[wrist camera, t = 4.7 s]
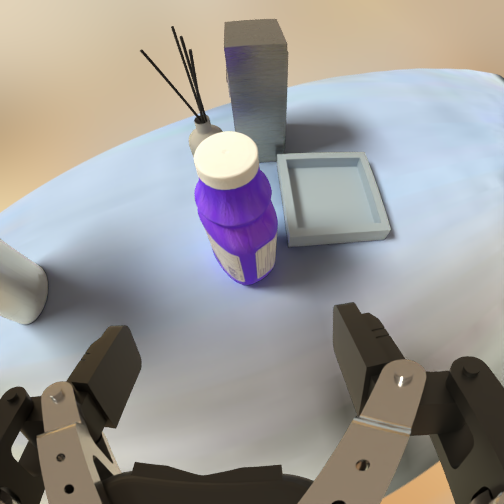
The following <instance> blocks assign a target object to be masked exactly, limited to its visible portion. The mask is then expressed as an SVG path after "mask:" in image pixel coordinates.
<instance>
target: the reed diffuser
mask: <svg viewBox="0 0 504 504" xmlns="http://www.w3.org/2000/svg"><path fill="white" fill-rule="evenodd" d="M171 28H172V31H173V34H174V37H175V40H176V43H177V46H178V49H179V52H180V55H181V58H182V61H183V64H184V67H185V70H186V73H187V76H188V79H189V82H190V84H191V88H192V91H193V93H194V96H195V99H196V102H197V105H198V108H199V111H200V116H198V115H197V113H196V112H195V111H194V110H193V109H192V107H191V106H190V105H189V104H188V103H187V101H186V100H185V99H184V98H183V96H182V95H181V94H180V93H179V92H178V91H177V89H176V88H175V87H174V86H173V85H172V84H171V82H170V81H169V80H168V79H167V78H166V76H165V75H164V74H163V73H162V72H161V71H160V69H159V68H158V67H157V66H156V65H155V64H154V62H153V61H152V60H151V59H150V58H149V57H148V56H147V54H146V53H145V52H144V51H143V50H140V51H141V53H143V55H144V56H145V57H146V58H147V59H148V60H149V62H150V63H151V64H152V65H153V66H154V67H155V69H156V70H157V71H158V72H159V73H160V74H161V75H162V77H163V78H164V79H165V80H166V81H167V82H168V84H169V85H170V86H171V87H172V88H173V89H174V90H175V92H176V93H177V94H178V95H179V96H180V98H181V99H182V100H183V101H184V102H185V104H186V105H187V106H188V107H189V108H190V110H191V111H192V112H193V113H194V114H195V116H196V118H195V120H194V121H195V126H196V129H194V130H193V131H192V133H191V134H190V136H189V145H190V149H191V151H192V154H193V157H194V154H195V151H196V149H197V147H198V146H199V144H200V143H201V142H202V141H203V140H205V139H206V138H208V137H210V136H211V135H214V134H217V133H220V132H223V131H222V130H221V129H220V128H219V127H217V126H215V125H211V124H210V120H209V117H208V116H207V115H206V114H205V111H204V108H203V104H202V101H201V98H200V94H199V91H198V85H197V79H196V73H195V67H194V61H193V55H192V50H191V49H189V55H190V60H189V57H188V54H187V51H186V47H185V43H184V40H183V37H182V36H180V40H181V43H182V46H183V49H184V53H185V56H186V59H187V63H188V66H189V69H190V73H191V76H192V79H193V82H194V86H195V89H196V93H195V90H194V87H193V84H192V81H191V78H190V75H189V72H188V69H187V66H186V63H185V60H184V57H183V54H182V51H181V48H180V45H179V41H178V39H177V35H176V32H175V29H174V27H173V26H172V27H171ZM190 61H191V64H190ZM191 66H192V67H191ZM196 94H197V96H196ZM202 112H203V113H202Z"/></svg>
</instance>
